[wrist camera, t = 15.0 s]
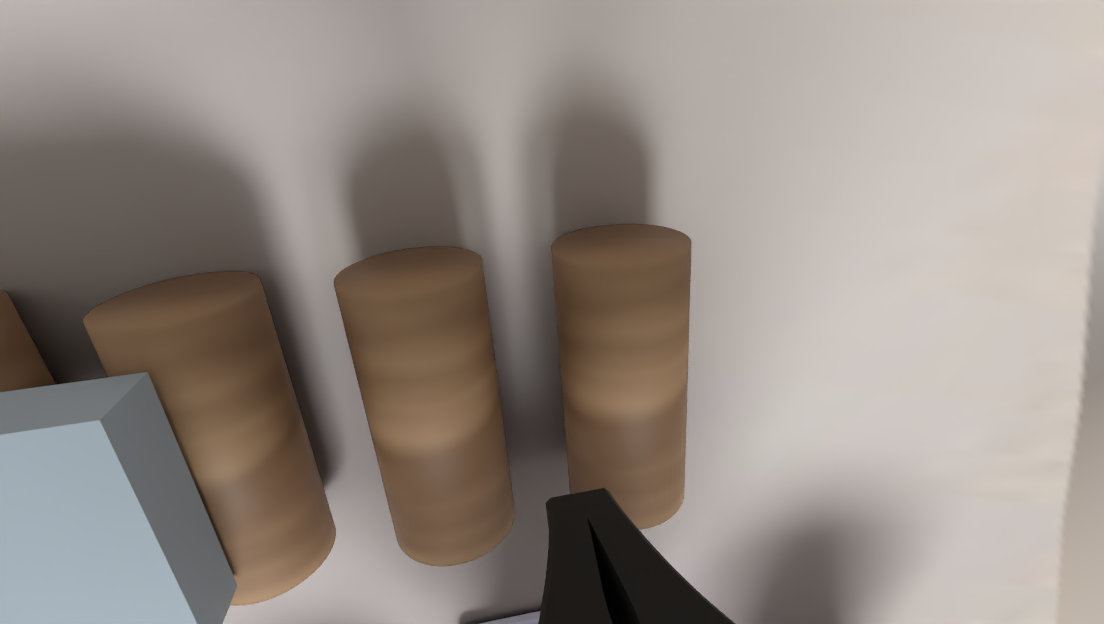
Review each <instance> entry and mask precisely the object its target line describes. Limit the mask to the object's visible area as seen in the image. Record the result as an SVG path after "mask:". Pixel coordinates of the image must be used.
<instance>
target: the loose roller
mask: <svg viewBox="0 0 1104 624" xmlns="http://www.w3.org/2000/svg"><path fill="white" fill-rule="evenodd" d="M50 385H56V383H55V381H54V379H53V378H52V376H51V374H50V372H49V370H48V368H47V366H46V365H45V363H44V361H43V359H42V357H41V355H40V353H39V351H38V350H37V348H36V346H35V344H34V342H33V340H32V338H31V336H30V335H29V333H28V331H27V329H26V327H25V325H24V323H23V321H22V320H21V318H20V316H19V314H18V312H17V310H16V308H15V307H14V305H13V303H12V301H11V299H10V297H9V295H8V293H6V292H4V291H0V392H6V391H14V390H21V389H28V388H35V387H42V386H50Z"/></svg>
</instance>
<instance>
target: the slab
mask: <svg viewBox="0 0 1104 624" xmlns="http://www.w3.org/2000/svg"><path fill="white" fill-rule="evenodd" d="M236 589H237V583H236V581H235V579H234V576H233V574H232V571H231V569H230V567H229V564H228V562H227V559H226V557H225V555H224V552H223V550H222V548H221V545H220V543H219V540H218V538H217V536H216V533H215V531H214V529H213V526H212V524H211V521H210V519H209V517H208V514H207V512H206V510H205V507H204V505H203V502H202V500H201V498H200V495H199V493H198V491H197V488H196V486H195V483H194V481H193V479H192V476H191V474H190V471H189V469H188V467H187V464H186V462H185V460H184V457H183V455H182V452H181V450H180V448H179V445H178V443H177V441H176V438H175V436H174V433H173V431H172V429H171V426H170V424H169V422H168V419H167V417H166V414H165V412H164V410H163V407H162V405H161V403H160V400H159V398H158V395H157V393H156V391H155V388H154V386H153V383H152V381H151V379H150V376H149V374H148V372H144V373H136V374H129V375H122V376H115V377H107V378H100V379H93V380H86V381H79V382H71V383H64V384H57V385H50V386H42V387H35V388H28V389H21V390H14V391H6V392H0V624H222V623H223V621H224V618H225V616H226V613H227V611H228V608H229V606H230V603H231V601H232V598H233V596H234V593H235V591H236Z"/></svg>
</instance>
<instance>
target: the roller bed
mask: <svg viewBox="0 0 1104 624" xmlns="http://www.w3.org/2000/svg"><path fill="white" fill-rule="evenodd" d="M551 252H552V265H553V278H554V291H555V304H556V317H557V330H558V343H559V356H560V369H561V382H562V395H563V408H564V421H565V434H566V447H567V460H568V473H569V486H570V494H574V493H580V492H585V491H590V490H595V489H601V488H605V489H607V490H608V491H609V492H610V493H611V495H612V496H613V498H614V499H615V500H616V502H617V503H618V505H619V506H620V507H621V509H622V510H623V511H624V512H625V514H626V515H627V516H628V517H629V519H630V520H631V521H632V522H633V524H634V525H635V526H636V527H637V528H638V530H640V529H646V528H650V527H653V526H656V525H659V524H661V523H663V522H665V521H666V520H668V519H669V518H671V517H672V516H673V515H674V514H675V513H676V512H677V510H678V509H679V508H680V506H681V504H682V502H683V498H684V483H685V448H686V413H687V378H688V343H689V308H690V273H691V239H690V238H689V237H688V236H687V235H686V234H684V233H682V232H680V231H677V230H674V229H671V228H666V227H661V226H654V225H643V224H616V225H605V226H597V227H591V228H586V229H581V230H577V231H574V232H571V233H568V234H566V235H563V236H562V237H560V238H558V239H557V240H555V241H554V242H553V244H552V246H551ZM334 287H335V291H336V295H337V299H338V303H339V307H340V311H341V315H342V319H343V323H344V327H345V331H346V335H347V339H348V343H349V347H350V351H351V356H352V360H353V364H354V368H355V372H356V376H357V380H358V384H359V388H360V392H361V396H362V400H363V404H364V408H365V412H366V416H367V420H368V424H369V428H370V432H371V436H372V440H373V444H374V448H375V452H376V456H377V461H378V465H379V469H380V473H381V477H382V481H383V485H384V489H385V493H386V497H387V501H388V505H389V509H390V513H391V517H392V521H393V525H394V529H395V533H396V537H397V541H398V543H399V546H400V547H401V549H402V550H403V552H404V553H405V554H406V555H408V556H409V557H410V558H412V559H413V560H415V561H417V562H420V563H423V564H427V565H432V566H452V565H458V564H462V563H466V562H469V561H472V560H474V559H477V558H479V557H481V556H483V555H484V554H486V553H488V552H489V551H491V550H492V549H493V548H495V547H496V546H497V545H498V544H499V543H500V542H501V541H502V540H503V539H504V538H505V536H506V535H507V534H508V532H509V530H510V528H511V526H512V524H513V520H514V514H515V510H514V501H513V493H512V486H511V478H510V470H509V463H508V455H507V447H506V440H505V432H504V424H503V417H502V409H501V401H500V394H499V386H498V378H497V371H496V363H495V355H494V348H493V340H492V332H491V325H490V317H489V309H488V302H487V294H486V286H485V279H484V271H483V263H482V259H481V257H480V256H479V255H478V254H477V253H475V252H473V251H470V250H467V249H462V248H455V247H421V248H412V249H404V250H399V251H393V252H389V253H384V254H380V255H377V256H373V257H370V258H367V259H364V260H362V261H359V262H357V263H355V264H353V265H350V266H349V267H347V268H345V269H344V270H342V271H341V272H340V273H339V274H338V275H337V276H336V277H335V279H334ZM83 324H84V326H85V328H86V330H87V332H88V335H89V337H90V339H91V341H92V343H93V346H94V348H95V350H96V352H97V354H98V356H99V359H100V361H101V363H102V365H103V367H104V370H105V372H106V374H107V376H108V377H115V376H122V375H129V374H136V373H144V372H148V374H149V376H150V379H151V381H152V383H153V386H154V388H155V391H156V393H157V395H158V398H159V400H160V403H161V405H162V407H163V410H164V412H165V414H166V417H167V419H168V422H169V424H170V426H171V429H172V431H173V433H174V436H175V438H176V441H177V443H178V445H179V448H180V450H181V452H182V455H183V457H184V460H185V462H186V464H187V467H188V469H189V471H190V474H191V476H192V479H193V481H194V483H195V486H196V488H197V491H198V493H199V495H200V498H201V500H202V502H203V505H204V507H205V510H206V512H207V514H208V517H209V519H210V521H211V524H212V526H213V529H214V531H215V533H216V536H217V538H218V540H219V543H220V545H221V548H222V550H223V552H224V555H225V557H226V559H227V562H228V564H229V567H230V569H231V571H232V574H233V576H234V579H235V581H236V583H237V589H236V591H235V593H234V596H233V598H232V601H231V603H230V605H249V604H255V603H259V602H263V601H266V600H269V599H272V598H274V597H276V596H279V595H281V594H283V593H285V592H287V591H289V590H291V589H292V588H294V587H295V586H297V585H299V584H300V583H301V582H303V581H304V580H305V579H307V578H308V577H309V576H310V575H311V574H313V573H314V572H315V571H316V570H317V569H318V568H319V567H320V565H321V564H322V563H323V562H324V560H325V559H326V558H327V556H328V555H329V553H330V551H331V549H332V547H333V544H334V541H335V536H336V528H335V524H334V521H333V518H332V514H331V511H330V508H329V504H328V501H327V498H326V495H325V491H324V488H323V485H322V481H321V478H320V475H319V471H318V468H317V465H316V462H315V458H314V455H313V452H312V448H311V445H310V442H309V439H308V435H307V432H306V429H305V425H304V422H303V419H302V415H301V412H300V409H299V406H298V402H297V399H296V396H295V392H294V389H293V386H292V383H291V379H290V376H289V373H288V369H287V366H286V363H285V359H284V356H283V353H282V350H281V346H280V343H279V340H278V336H277V333H276V330H275V327H274V323H273V320H272V317H271V313H270V310H269V307H268V303H267V300H266V297H265V294H264V290H263V287H262V284H261V280H260V278H259V277H258V276H256V275H255V274H252V273H247V272H239V271H223V272H210V273H202V274H195V275H189V276H184V277H179V278H174V279H170V280H165V281H162V282H158V283H154V284H151V285H147V286H144V287H141V288H138V289H135V290H132V291H129V292H126V293H124V294H121V295H119V296H116V297H114V298H112V299H110V300H108V301H106V302H104V303H102V304H100V305H98V306H97V307H95V308H94V309H92V310H91V311H90V312H89V313H88V314H87V315H86V316H85V317H84V319H83Z"/></svg>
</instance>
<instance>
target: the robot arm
mask: <svg viewBox="0 0 1104 624" xmlns="http://www.w3.org/2000/svg"><path fill="white" fill-rule="evenodd" d="M546 509H547V518H548V526H549V550H548V561H547V571H546V580H545V587H544V593H543V599H542V605H541V611H537V612H532V613H528V614H523V615H518V616H513V617H508V618H503V619H498V620H494V621H489V622H484V623H479V624H735V623H734V622H733V621H731V620H730V619H729V618H728V617H727V616H725V615H724V614H723V613H722V612H721V611H719V610H718V609H717V608H716V607H715V606H714V605H712V604H711V603H710V602H709V601H708V600H707V599H706V598H705V597H703V596H702V595H701V594H700V593H699V592H698V591H697V590H696V589H695V588H694V587H693V586H692V585H691V584H690V583H689V582H687V581H686V580H685V579H684V578H683V577H682V576H681V575H680V574H679V573H678V572H677V571H676V570H675V569H674V568H673V567H672V566H671V565H670V564H669V563H668V562H667V561H666V560H665V558H664V557H663V556H662V555H661V554H660V553H659V552H658V551H657V550H656V549H655V548H654V546H653V545H652V544H651V543H650V542H649V541H648V540H647V539H646V538H645V537H644V535H643V534H642V533H641V532H640V531H639V530H638V528H637V527H636V526H635V525H634V524H633V522H632V521H631V520H630V519H629V517H628V516H627V515H626V514H625V512H624V511H623V510H622V509H621V507H620V506H619V505H618V503H617V502H616V500H615V499H614V498H613V496H612V495H611V493H610V492H609V491H608V490H607V489H605V488H601V489H595V490H590V491H585V492H580V493H574V494H569V495H564V496H558V497H553V498H550V499H549V500H548V501H547V502H546Z"/></svg>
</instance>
